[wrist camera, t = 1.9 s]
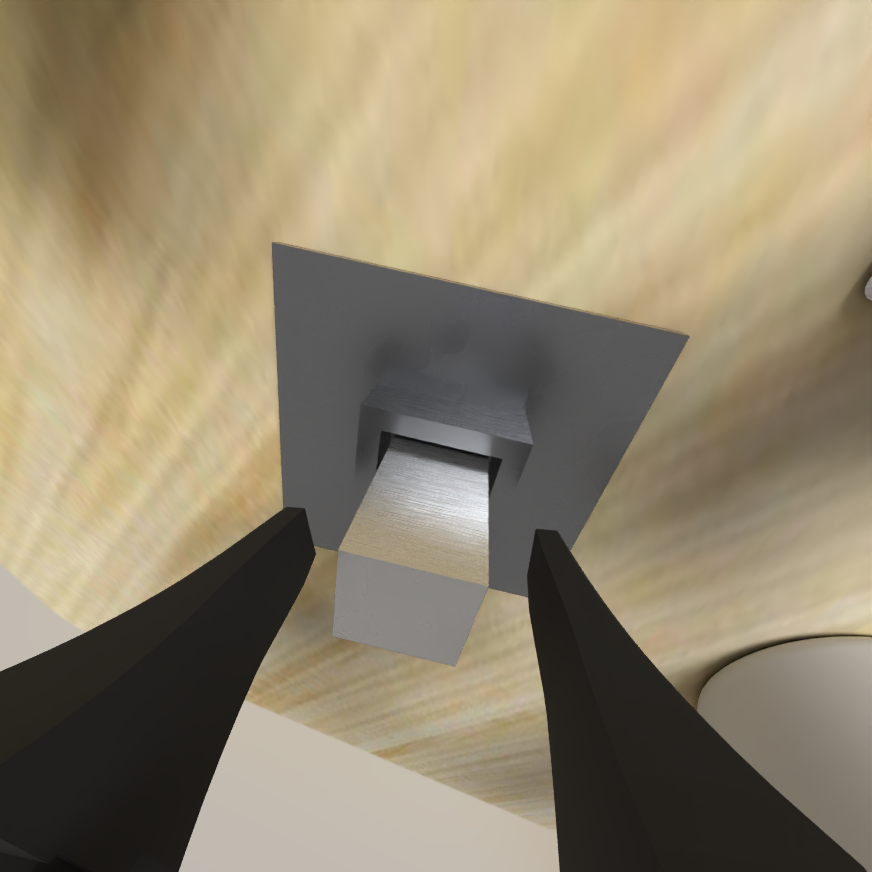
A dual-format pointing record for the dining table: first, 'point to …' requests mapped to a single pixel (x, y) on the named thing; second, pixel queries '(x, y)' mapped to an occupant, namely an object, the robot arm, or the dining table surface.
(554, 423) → the stand base
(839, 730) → the cylinder vase
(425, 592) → the column
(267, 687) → the dining table surface
